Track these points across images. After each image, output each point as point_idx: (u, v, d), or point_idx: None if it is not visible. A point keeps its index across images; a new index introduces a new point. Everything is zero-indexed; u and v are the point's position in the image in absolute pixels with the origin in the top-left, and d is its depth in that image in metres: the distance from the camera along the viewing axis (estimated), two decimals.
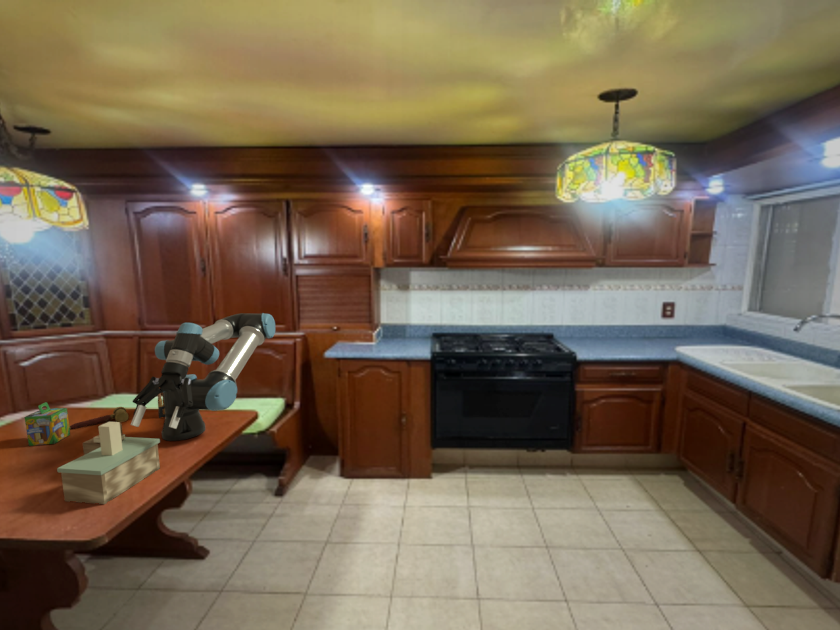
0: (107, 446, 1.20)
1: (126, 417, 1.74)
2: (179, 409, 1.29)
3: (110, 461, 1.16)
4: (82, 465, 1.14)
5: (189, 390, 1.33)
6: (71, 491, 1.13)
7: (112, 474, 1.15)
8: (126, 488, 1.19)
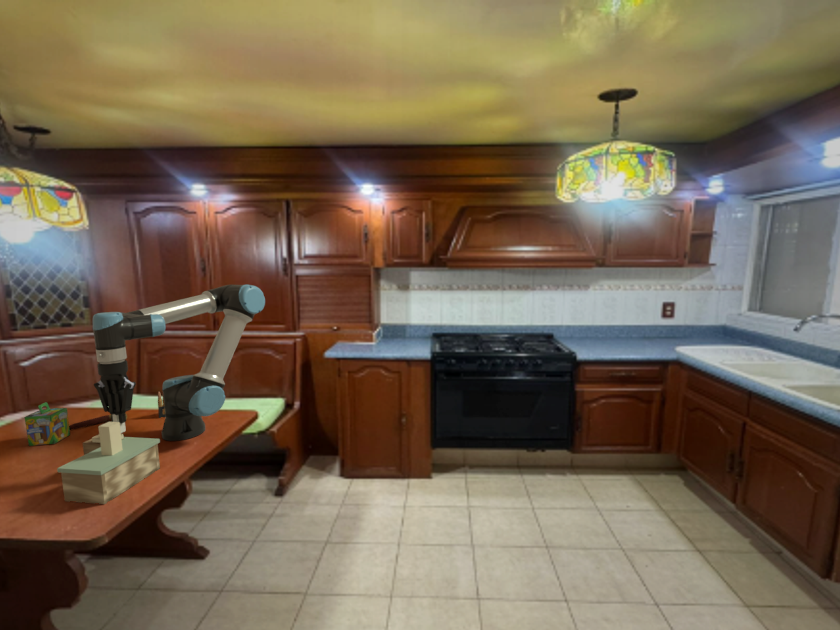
0: (107, 446, 1.20)
1: None
2: (119, 416, 1.27)
3: (110, 461, 1.16)
4: (82, 465, 1.14)
5: (129, 396, 1.27)
6: (71, 491, 1.13)
7: (112, 474, 1.15)
8: (126, 488, 1.19)
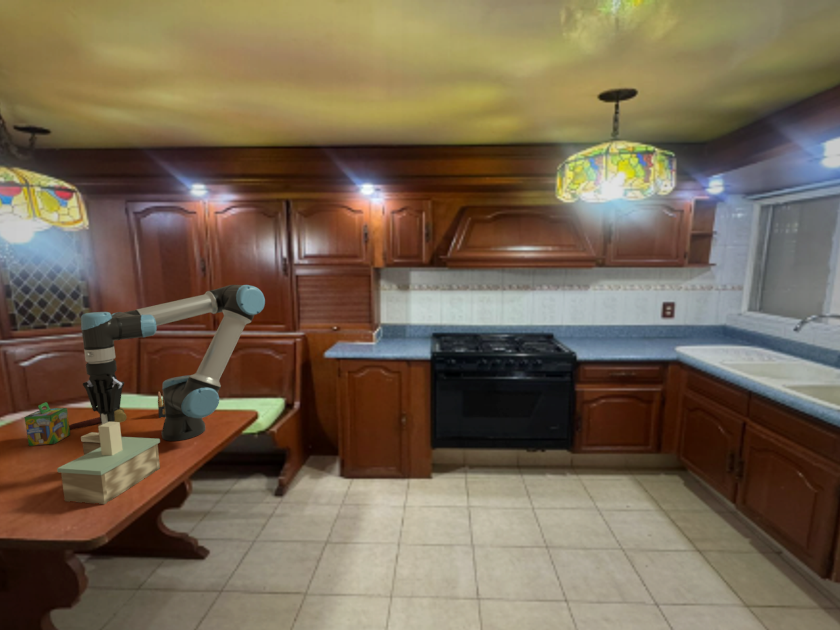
0: (107, 446, 1.20)
1: (124, 417, 1.73)
2: (108, 415, 1.28)
3: (110, 461, 1.16)
4: (82, 465, 1.14)
5: (118, 396, 1.27)
6: (71, 491, 1.13)
7: (112, 474, 1.15)
8: (126, 488, 1.19)
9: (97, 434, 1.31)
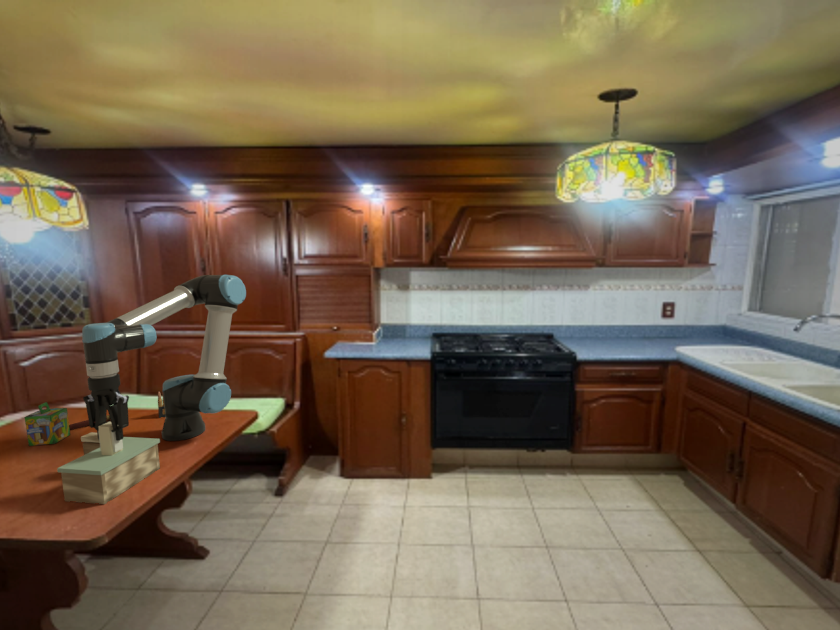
0: (107, 446, 1.20)
1: None
2: (116, 433, 1.20)
3: (110, 461, 1.16)
4: (82, 465, 1.14)
5: (124, 411, 1.20)
6: (71, 491, 1.13)
7: (112, 474, 1.15)
8: (126, 488, 1.19)
9: None
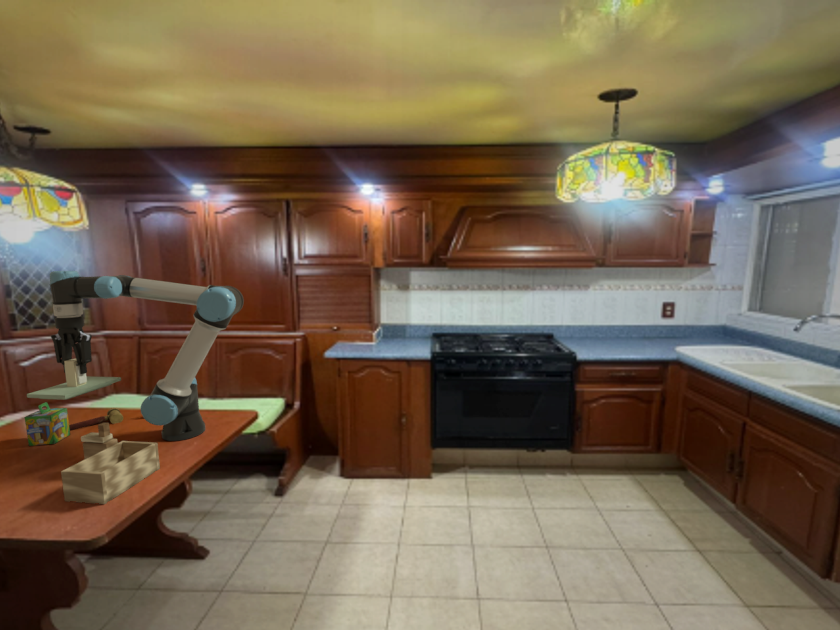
0: (72, 379, 1.37)
1: (121, 418, 1.73)
2: (80, 367, 1.38)
3: (74, 390, 1.34)
4: (49, 392, 1.31)
5: (87, 348, 1.37)
6: (71, 491, 1.13)
7: (112, 474, 1.15)
8: (126, 488, 1.19)
9: (97, 434, 1.31)
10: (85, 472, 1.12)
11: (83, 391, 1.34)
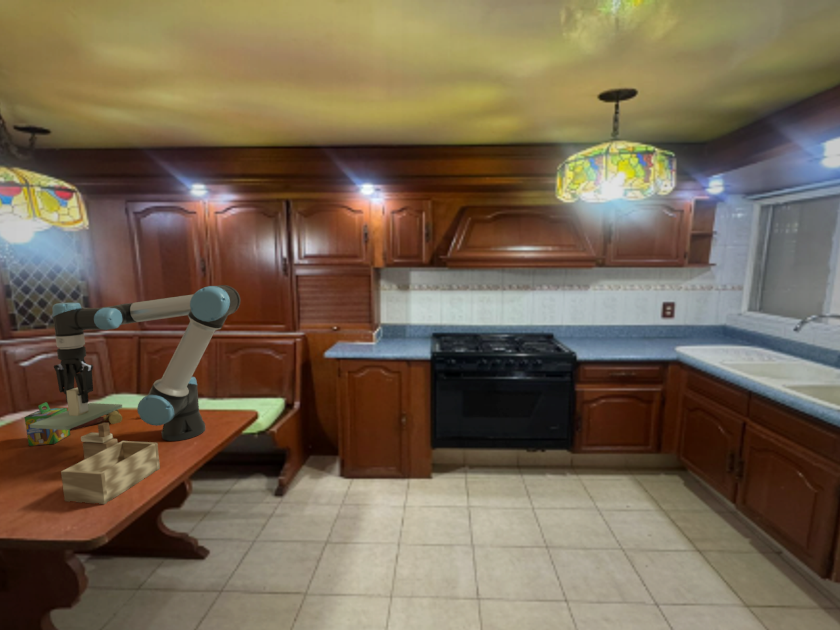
0: (73, 408, 1.40)
1: (120, 418, 1.72)
2: (82, 396, 1.40)
3: (75, 419, 1.36)
4: (51, 422, 1.34)
5: (89, 378, 1.40)
6: (71, 491, 1.13)
7: (112, 474, 1.15)
8: (126, 488, 1.19)
9: (97, 434, 1.31)
10: (85, 472, 1.12)
11: (84, 421, 1.37)
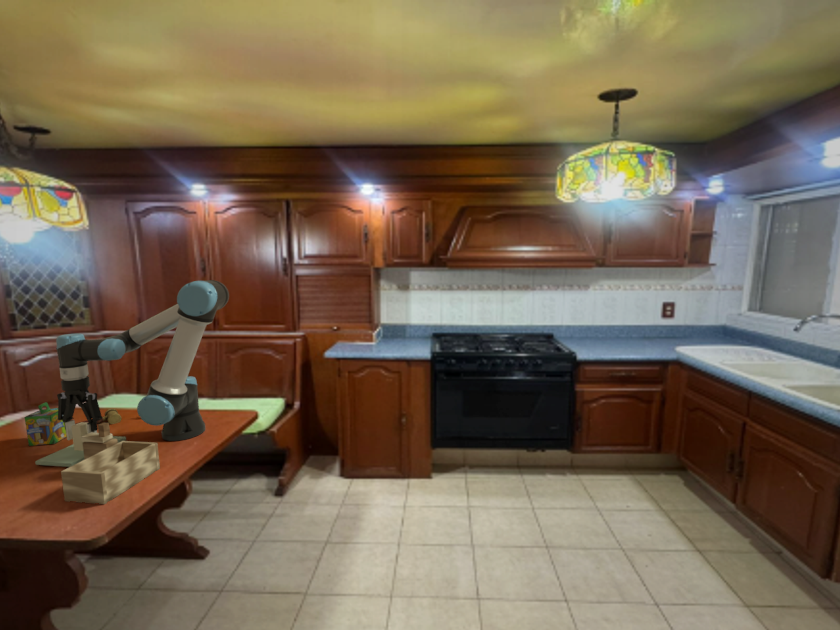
0: (78, 443, 1.42)
1: (119, 419, 1.72)
2: (91, 425, 1.41)
3: (80, 455, 1.38)
4: (56, 459, 1.36)
5: (95, 406, 1.41)
6: (71, 491, 1.13)
7: (112, 474, 1.15)
8: (126, 488, 1.19)
9: (97, 434, 1.31)
10: (85, 472, 1.12)
11: None
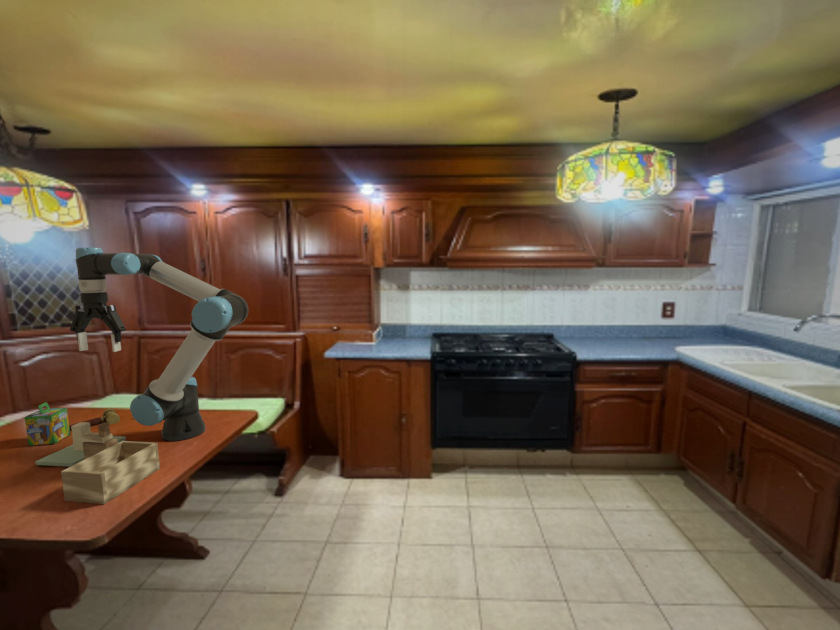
0: (78, 443, 1.42)
1: (118, 419, 1.72)
2: (115, 335, 1.41)
3: (81, 455, 1.38)
4: (56, 459, 1.36)
5: (116, 317, 1.41)
6: (71, 491, 1.13)
7: (112, 474, 1.15)
8: (126, 488, 1.19)
9: (97, 434, 1.31)
10: (85, 472, 1.12)
11: None
